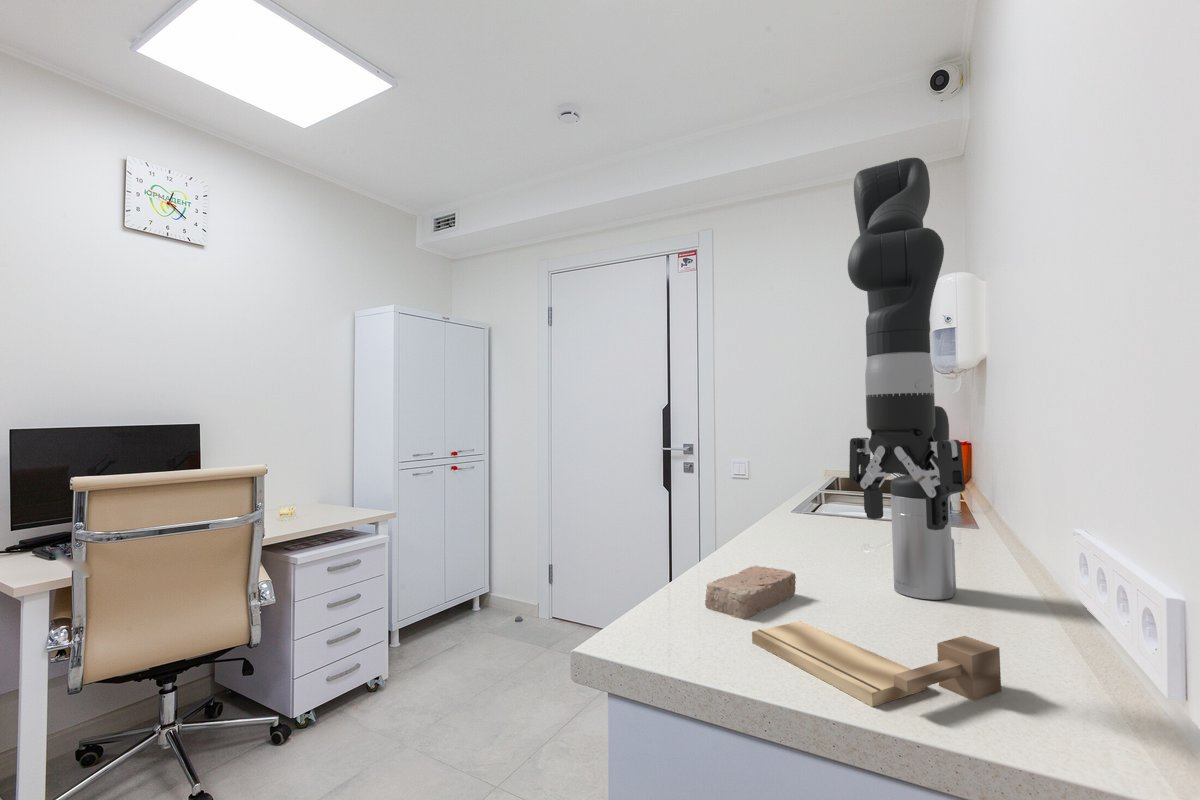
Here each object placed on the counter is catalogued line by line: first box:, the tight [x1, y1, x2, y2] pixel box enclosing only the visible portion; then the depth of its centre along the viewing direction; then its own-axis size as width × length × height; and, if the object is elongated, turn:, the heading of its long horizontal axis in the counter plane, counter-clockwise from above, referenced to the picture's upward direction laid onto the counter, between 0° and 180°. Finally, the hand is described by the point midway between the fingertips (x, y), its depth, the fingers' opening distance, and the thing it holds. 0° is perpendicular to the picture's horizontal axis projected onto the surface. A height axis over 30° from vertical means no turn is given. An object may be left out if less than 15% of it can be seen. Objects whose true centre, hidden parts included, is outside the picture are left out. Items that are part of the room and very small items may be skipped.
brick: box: [704, 565, 797, 620], centre depth 98 cm, size 17×8×5 cm, turn 133°
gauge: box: [894, 635, 1002, 702], centre depth 64 cm, size 15×4×5 cm, turn 114°
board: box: [751, 621, 928, 708], centre depth 73 cm, size 9×20×2 cm, turn 24°
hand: (903, 523), depth 69 cm, fingers open, 8 cm apart
